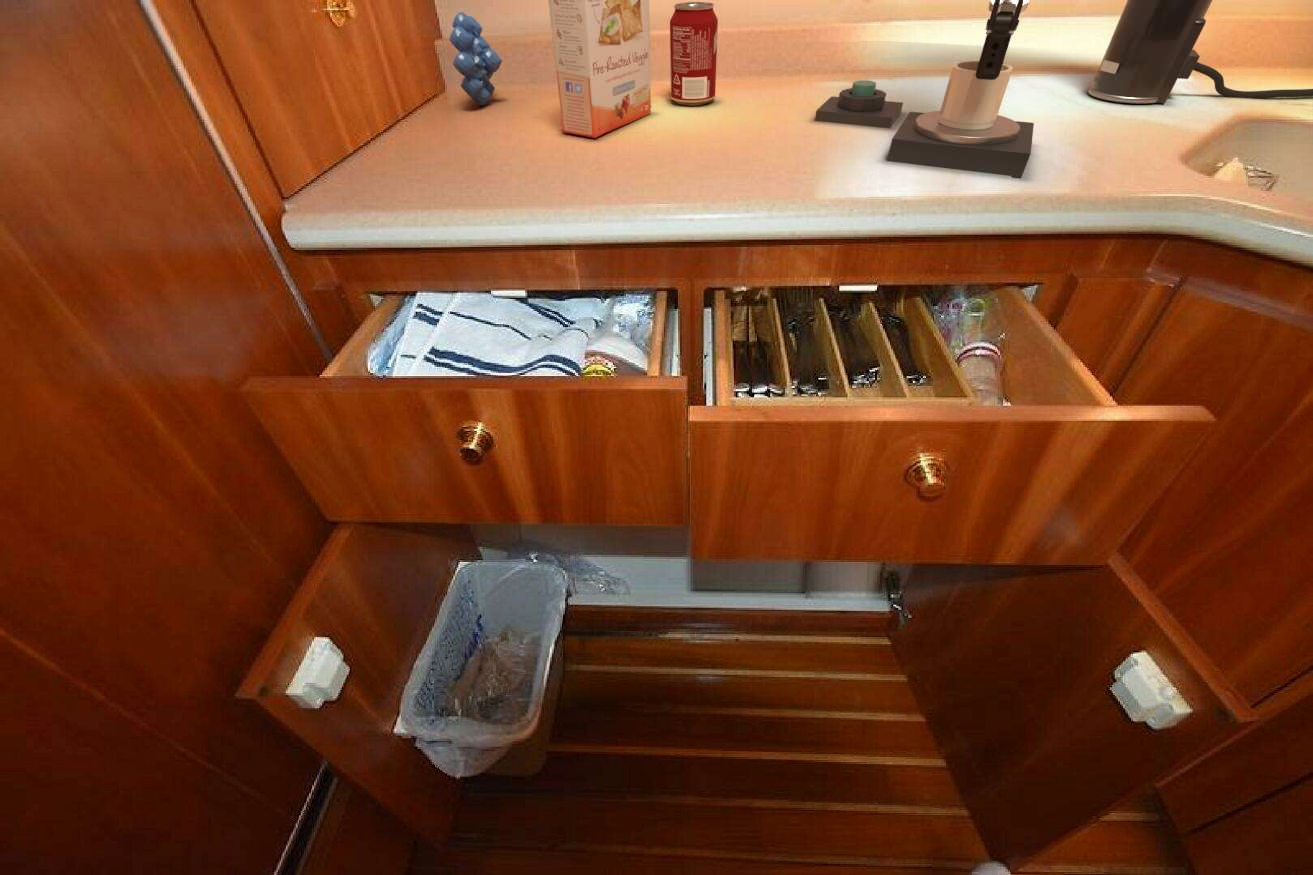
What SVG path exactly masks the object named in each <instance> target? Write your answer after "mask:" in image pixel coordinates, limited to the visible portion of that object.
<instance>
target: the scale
mask: <svg viewBox="0 0 1313 875" xmlns="http://www.w3.org/2000/svg"><path fill="white" fill-rule="evenodd" d="M940 111H941V110H934V111H930V112H929V111H928V112H919V111H909V112H908V114H907V115H906V117H905V119H904V120H903V122H902V123H901V125H900V126H899V128H898V129H897V131H896V132H895V134H894V135H893V137H892V138H891V141H890V146H889V151H888V155H887V161H886V162H890V163H891V162H892V163H898V164H905V165H906V164H907V165H916V166H923V167H932V168H940V169H949V170H955V171H956V170H957V171H965V172H973V173H974V172H975V173H982V174H990V175H997V176H1006V177H1007V176H1008V177H1011V178H1016V179H1017V178H1018V179H1019V178H1020V179H1021V178H1022V177H1023V175H1024V172H1025V170H1026V167H1027V164H1028V163H1029V160H1030V156H1031V154H1032V144H1033V137H1034V136H1033V135H1034V127H1035V126H1034V125H1035V122H1030V121H1029V122H1028V121H1019V120H1014V119H1012V118H1009V117H1006V116H1003V115H999V114H997V117H996V120H995V123H994V125H993V126H992V127H990V128H987V129H981V130H965V129H956V128H951V127H948V126H945V125H942V124H941V123H939V121H938V119H939V114H940Z"/></svg>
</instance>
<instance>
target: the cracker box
mask: <svg viewBox="0 0 1313 875" xmlns="http://www.w3.org/2000/svg"><path fill="white" fill-rule="evenodd" d="M548 8H549V17H550V26H551V35H552V45H553V54H554V63H555V71H556V81H557V89H558V96H559V97H558V99H559V107H560V116H561V122H562V123H561V125H562V132H563V133H565V134H572V135H577V136H583V137H586V138H587V137H588V138H592V139H593V138H594V139H596V138H598V137H601V136H602V135H605V134H607V133H610V132H612V131H614V130H616V129H619V128H621V127H622V126H625V125H627V124H629V123H632V122H634V121H637V120H639V119H641V118H644V117H646V116H648V115H650V114H651V112H652V104H651V102H652V100H651V99H652V98H651V97H652V96H651V94H652V93H651V39H650V38H651V36H650V35H651V33H650V31H651V30H650V0H548Z"/></svg>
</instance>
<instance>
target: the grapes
mask: <svg viewBox="0 0 1313 875" xmlns="http://www.w3.org/2000/svg"><path fill="white" fill-rule="evenodd" d="M451 26H452V28H453V29H452V31H451V32H450V35H449V42H450V43H451V45H452V46H453V47H454V48H455V49H456V50H457V51H458V53H457V54H456V55H455V57H454V58H453V61H452V62H453V63H452V65H453V67H454V68H455V69H456V70H457V71H458V73H459V74H460V75H461V76H463V79H462V80H461V83H460V87H461V89H462V90H463V91H464V93H466V94H467V95H468V96H469V97H470V98H471V100H472V101H473V102H474V103H475V104H476V105H477V106H480V107H483V106H485V105H486V104H487V103H488V102H489V100H490V98H491V97H492V96H493V94H494V92H495V89H496V86H494V85H493V83H492V82H491V81H490V80H491V78H492V77H493V75H494V73H496V72H497V71H498V70H499V69H500V67H501V65H502V62H503V59H502V58H501V57H500V56H499V54H498V53H497V51H495V50H493V49H492V48H491V45H490V44H489V43H488V41H487V40H486V39H485V38H484V37H483V36H481V34H482V31H483V27H482V26H481V24H480V23H479V22H478V21H477V19H476V18H474V17H473V16H471V15H468V14H466V13H464V12H462V11H461V12H459V11H458V13H457V14H456V15H455V16H454V19H453V21H452V25H451Z"/></svg>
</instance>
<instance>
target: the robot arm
mask: <svg viewBox="0 0 1313 875" xmlns="http://www.w3.org/2000/svg"><path fill="white" fill-rule="evenodd" d="M1212 2H1213V0H1126V2H1125V5H1124V7H1123V10H1122V11H1121V15H1120V17H1119V20H1118V22H1117V24H1116V26H1115V29H1114V31H1113V34H1112V36H1111V39H1110V40H1109V43H1108V45H1107V48H1106V51H1105V53H1104V55H1103V58H1102V60H1101V62H1100V65H1099V67H1098V70H1097V72H1096V74H1095V76H1094V78H1093V82H1092V84H1091V85H1090V87H1089V89H1088V91H1087V93H1088V94H1089V95H1090V96H1092V97H1094V98H1097V99H1100V100H1105V101H1109V102H1116V103H1124V104H1158V103H1159V104H1166V103H1167V101H1168V99H1169V96H1170V94H1172V93H1171V92H1172V91H1173V88H1174V87H1175V84H1176V83H1177V81H1178V80H1179V79H1181V80H1188V79H1189V78H1190V76H1191V75H1192V73H1193V71H1194V72H1197V73H1199V74H1202V75H1204V76H1207V77H1208V78H1210V79H1211V80H1213V82H1214V90H1215V91H1216V93H1217V94H1218V95H1220V96H1222V97H1226V98H1234V99H1235V98H1237V99H1258V100H1259V99H1271V98H1272V99H1273V98H1309V97H1313V88H1302V89H1301V88H1300V89H1299V88H1298V89H1297V88H1296V89H1293V88H1292V89H1269V90H1267V89H1266V90H1255V91H1254V90H1249V91H1247V90H1246V91H1245V90H1236V89H1232V88H1229V87H1227V86H1226V85H1225V81H1224V80H1225V79H1224V76H1223V75H1222V74H1221V72H1219V71H1218V70H1217V69H1215V68H1213V67H1211V66H1209V65H1206V64H1203V63H1202V62H1199V59H1200V55H1199V53H1198V52H1197V51H1196V50H1195V49H1194V47H1195V45H1196V44H1197V41H1198V39H1199V37H1200V35H1201V33H1202V31H1203V29H1204V27H1205V25H1206V23H1207V20H1206V18H1205V16H1206V14H1207V12H1208V11H1209V9H1210V6H1211V4H1212ZM1029 3H1030V0H989V3H988V7H987V8H988V11H989V12H991V13H990V17H989V18H987V21H986V25H985V28H984V29H985V31H986V32H985V35H986V36H985V38H984V39H985V40H984V44H983V46H982V50H981V54H980V57H979V60H978V61H979V64H978V67H977V71H976V78H977V79H985V80H995V79H996V78H998V76H999V74H1000V71H1001V68H1002V64H1004V61H1005V58H1006V56H1007V55H1006V54H1007V51H1008V48H1009V45H1010V42H1011V39H1012V36H1014V32H1016V31H1017V29H1018V26H1019V23H1020V19H1019V18H1020V14H1022V13H1023V12H1025V11H1026V10H1027V9H1028V5H1029Z"/></svg>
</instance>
